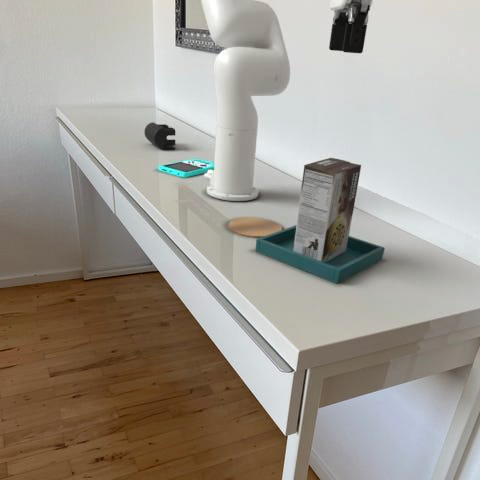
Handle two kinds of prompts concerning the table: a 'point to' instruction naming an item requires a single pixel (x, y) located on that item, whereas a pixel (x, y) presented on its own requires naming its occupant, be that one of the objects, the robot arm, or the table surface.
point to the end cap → (160, 135)
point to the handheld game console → (187, 167)
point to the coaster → (254, 227)
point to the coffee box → (326, 208)
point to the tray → (333, 270)
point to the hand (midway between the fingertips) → (344, 51)
